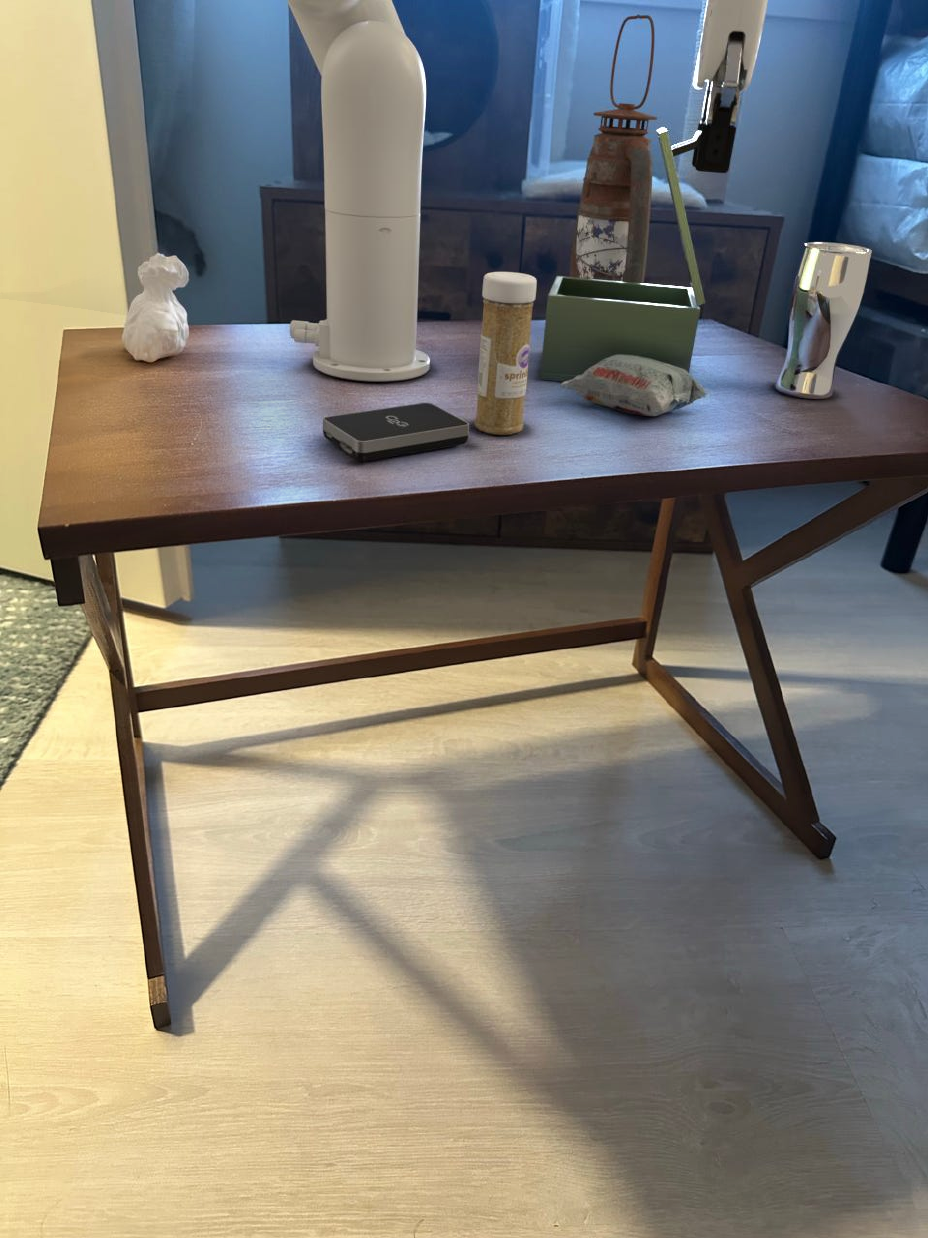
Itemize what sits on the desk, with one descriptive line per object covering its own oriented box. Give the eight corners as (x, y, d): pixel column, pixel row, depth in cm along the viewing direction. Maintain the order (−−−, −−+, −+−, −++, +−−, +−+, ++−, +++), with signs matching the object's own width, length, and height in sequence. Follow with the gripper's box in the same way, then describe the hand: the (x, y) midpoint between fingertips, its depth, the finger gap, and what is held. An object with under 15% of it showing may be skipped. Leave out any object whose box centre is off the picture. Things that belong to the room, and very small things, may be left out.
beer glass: (846, 393, 103) (885, 249, 95) (819, 404, 98) (857, 254, 91) (788, 378, 107) (820, 239, 99) (759, 389, 102) (791, 244, 94)
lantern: (588, 352, 112) (632, 6, 94) (532, 321, 125) (561, 12, 107) (666, 349, 115) (722, 16, 98) (603, 319, 128) (643, 20, 111)
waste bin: (539, 379, 100) (548, 295, 96) (548, 352, 111) (556, 275, 106) (685, 394, 99) (700, 309, 94) (680, 365, 109) (694, 287, 104)
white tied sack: (173, 389, 96) (233, 299, 95) (106, 348, 92) (168, 251, 90) (153, 360, 106) (208, 277, 104) (92, 320, 101) (148, 232, 99)
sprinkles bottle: (516, 439, 83) (530, 282, 76) (467, 431, 84) (477, 275, 77) (528, 424, 86) (542, 273, 80) (481, 417, 87) (492, 267, 81)
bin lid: (659, 133, 87) (712, 113, 86) (656, 129, 98) (704, 111, 96) (697, 305, 94) (747, 290, 93) (691, 284, 104) (736, 270, 103)
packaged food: (660, 433, 86) (669, 380, 84) (557, 403, 93) (563, 353, 90) (704, 416, 92) (714, 366, 90) (604, 389, 99) (611, 342, 96)
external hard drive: (320, 440, 80) (320, 417, 78) (429, 423, 85) (430, 401, 84) (359, 466, 75) (359, 442, 74) (471, 446, 80) (473, 424, 79)
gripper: (700, -42, 92) (668, 161, 101) (712, -68, 77) (674, 172, 86) (777, -38, 91) (738, 167, 100) (805, -63, 76) (756, 179, 86)
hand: (709, 167), depth 93 cm, fingers closed on bin lid, 5 cm apart
